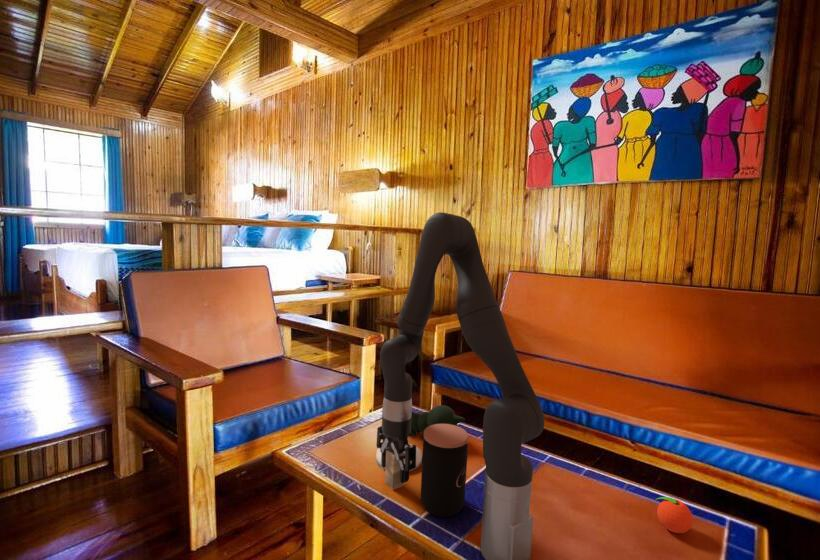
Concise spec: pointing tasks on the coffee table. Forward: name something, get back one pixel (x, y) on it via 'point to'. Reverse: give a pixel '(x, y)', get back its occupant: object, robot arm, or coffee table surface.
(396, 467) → the wood grain block
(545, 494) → the coffee table surface
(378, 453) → the candle dish
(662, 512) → the clementine
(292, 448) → the coffee table surface
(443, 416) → the toy figurine
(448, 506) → the coffee jar
